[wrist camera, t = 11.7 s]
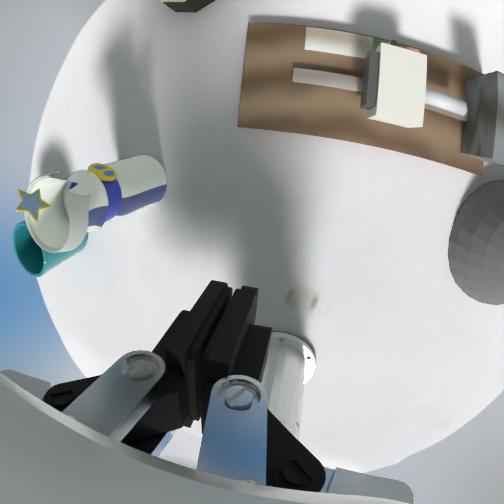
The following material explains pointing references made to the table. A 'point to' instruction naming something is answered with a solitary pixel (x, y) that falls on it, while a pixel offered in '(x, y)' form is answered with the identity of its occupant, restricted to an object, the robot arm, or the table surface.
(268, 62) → the base
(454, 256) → the baseball cap
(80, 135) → the table surface
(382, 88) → the white block grey face
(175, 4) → the wine bottle
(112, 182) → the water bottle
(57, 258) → the cup
